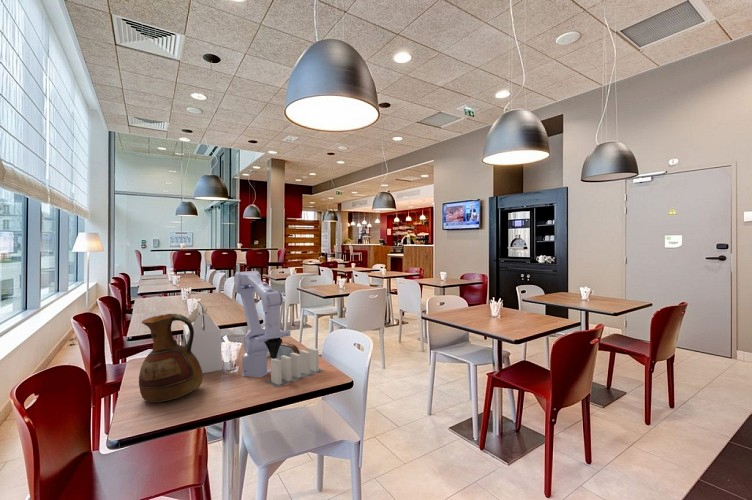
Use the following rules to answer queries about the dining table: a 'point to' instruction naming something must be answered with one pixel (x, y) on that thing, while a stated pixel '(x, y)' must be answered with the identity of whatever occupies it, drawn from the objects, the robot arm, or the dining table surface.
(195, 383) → the ceramic pitcher
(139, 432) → the dining table surface
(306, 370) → the domino
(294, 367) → the domino
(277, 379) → the domino
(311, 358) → the domino
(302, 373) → the mat
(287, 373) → the domino
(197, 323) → the gable box
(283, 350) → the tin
